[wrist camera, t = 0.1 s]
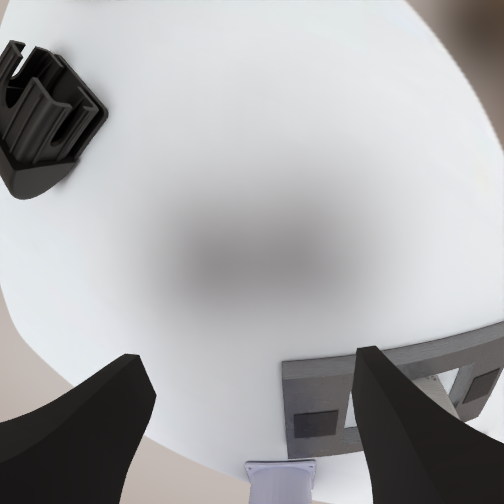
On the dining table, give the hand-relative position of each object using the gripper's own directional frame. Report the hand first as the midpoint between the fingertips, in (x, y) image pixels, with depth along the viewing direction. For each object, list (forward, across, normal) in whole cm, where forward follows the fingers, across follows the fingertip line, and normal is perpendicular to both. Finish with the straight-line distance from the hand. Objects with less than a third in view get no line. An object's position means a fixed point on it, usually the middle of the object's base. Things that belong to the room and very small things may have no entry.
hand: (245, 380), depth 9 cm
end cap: (+10, +14, -13) cm, 22 cm away
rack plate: (+10, -12, +14) cm, 21 cm away
